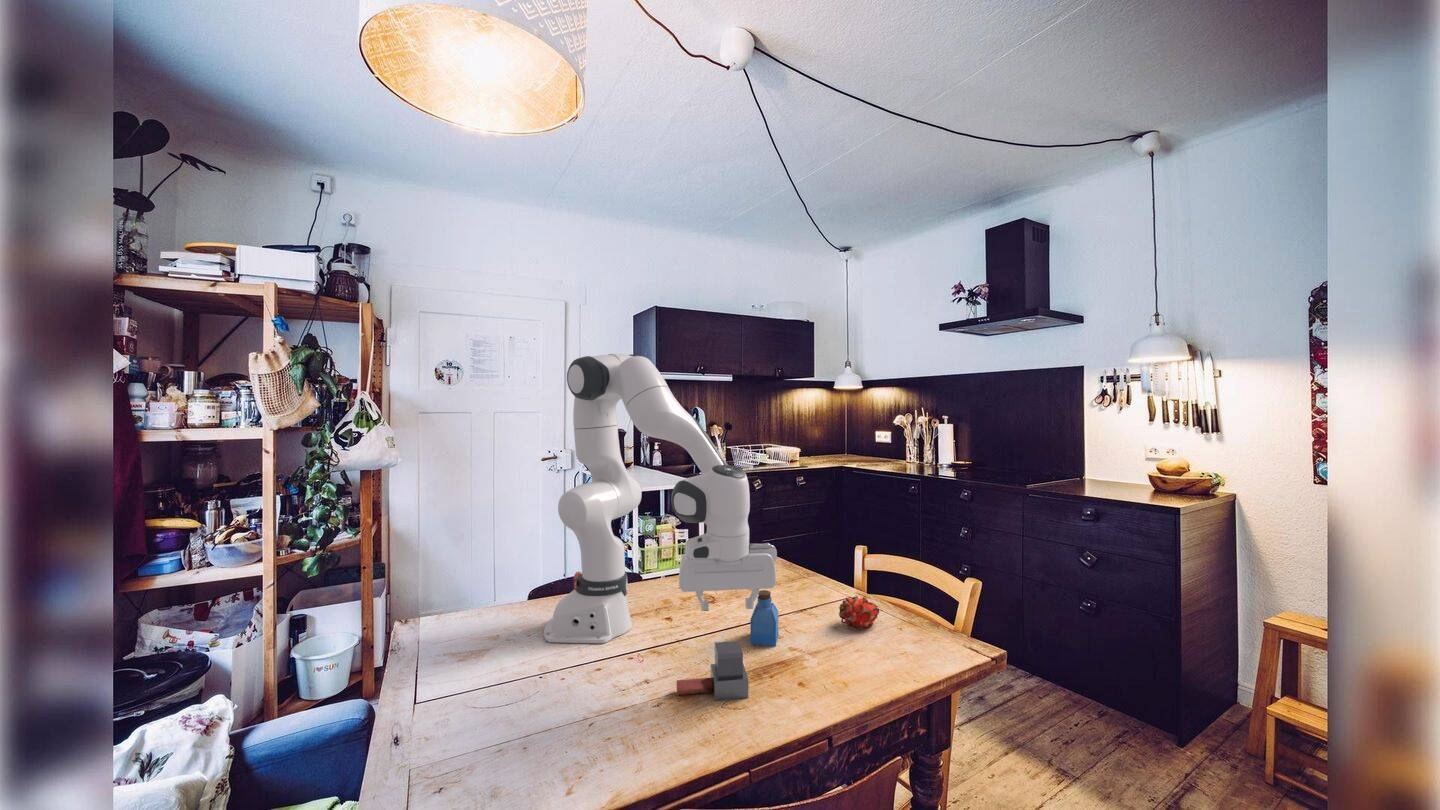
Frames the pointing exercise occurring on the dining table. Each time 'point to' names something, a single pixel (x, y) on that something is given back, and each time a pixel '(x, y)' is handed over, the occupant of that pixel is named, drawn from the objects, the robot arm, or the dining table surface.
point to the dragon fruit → (858, 612)
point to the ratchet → (716, 686)
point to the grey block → (728, 659)
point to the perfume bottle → (764, 621)
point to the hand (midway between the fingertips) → (727, 608)
